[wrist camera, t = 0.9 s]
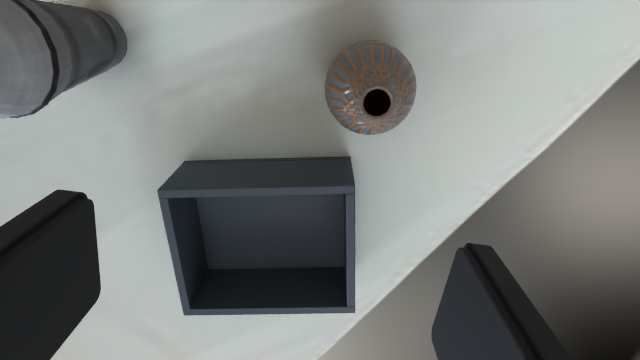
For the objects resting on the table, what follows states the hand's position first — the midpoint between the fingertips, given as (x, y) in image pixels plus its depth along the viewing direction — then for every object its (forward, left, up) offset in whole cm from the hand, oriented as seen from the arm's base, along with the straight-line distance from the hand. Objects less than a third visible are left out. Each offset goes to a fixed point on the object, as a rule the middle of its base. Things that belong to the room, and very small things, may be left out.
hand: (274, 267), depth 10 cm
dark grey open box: (+13, -4, -26) cm, 29 cm away
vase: (0, +5, -26) cm, 27 cm away
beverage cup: (-4, -17, -26) cm, 32 cm away
